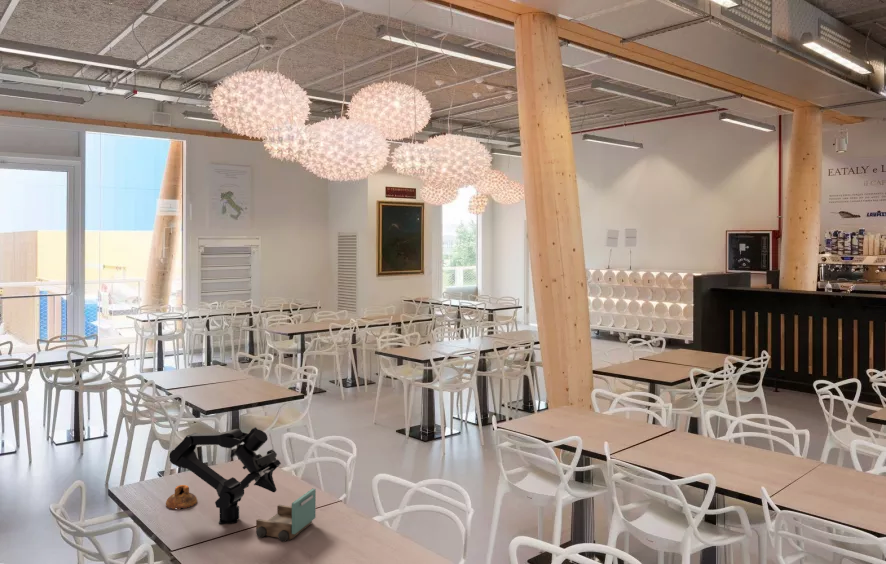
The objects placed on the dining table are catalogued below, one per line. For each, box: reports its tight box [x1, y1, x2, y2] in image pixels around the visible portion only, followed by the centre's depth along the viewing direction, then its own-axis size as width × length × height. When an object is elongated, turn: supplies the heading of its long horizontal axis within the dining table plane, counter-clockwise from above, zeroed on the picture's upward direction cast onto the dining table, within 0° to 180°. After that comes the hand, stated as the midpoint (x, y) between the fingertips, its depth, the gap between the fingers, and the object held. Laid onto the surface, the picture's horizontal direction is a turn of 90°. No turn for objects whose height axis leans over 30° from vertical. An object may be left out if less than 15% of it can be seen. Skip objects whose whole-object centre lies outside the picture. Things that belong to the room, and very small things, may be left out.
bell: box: [165, 484, 198, 510], centre depth 263 cm, size 12×12×7 cm
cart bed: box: [255, 504, 313, 542], centre depth 240 cm, size 14×17×6 cm
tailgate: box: [291, 488, 317, 534], centre depth 237 cm, size 2×15×11 cm, turn 162°
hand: (275, 491), depth 241 cm, fingers closed
